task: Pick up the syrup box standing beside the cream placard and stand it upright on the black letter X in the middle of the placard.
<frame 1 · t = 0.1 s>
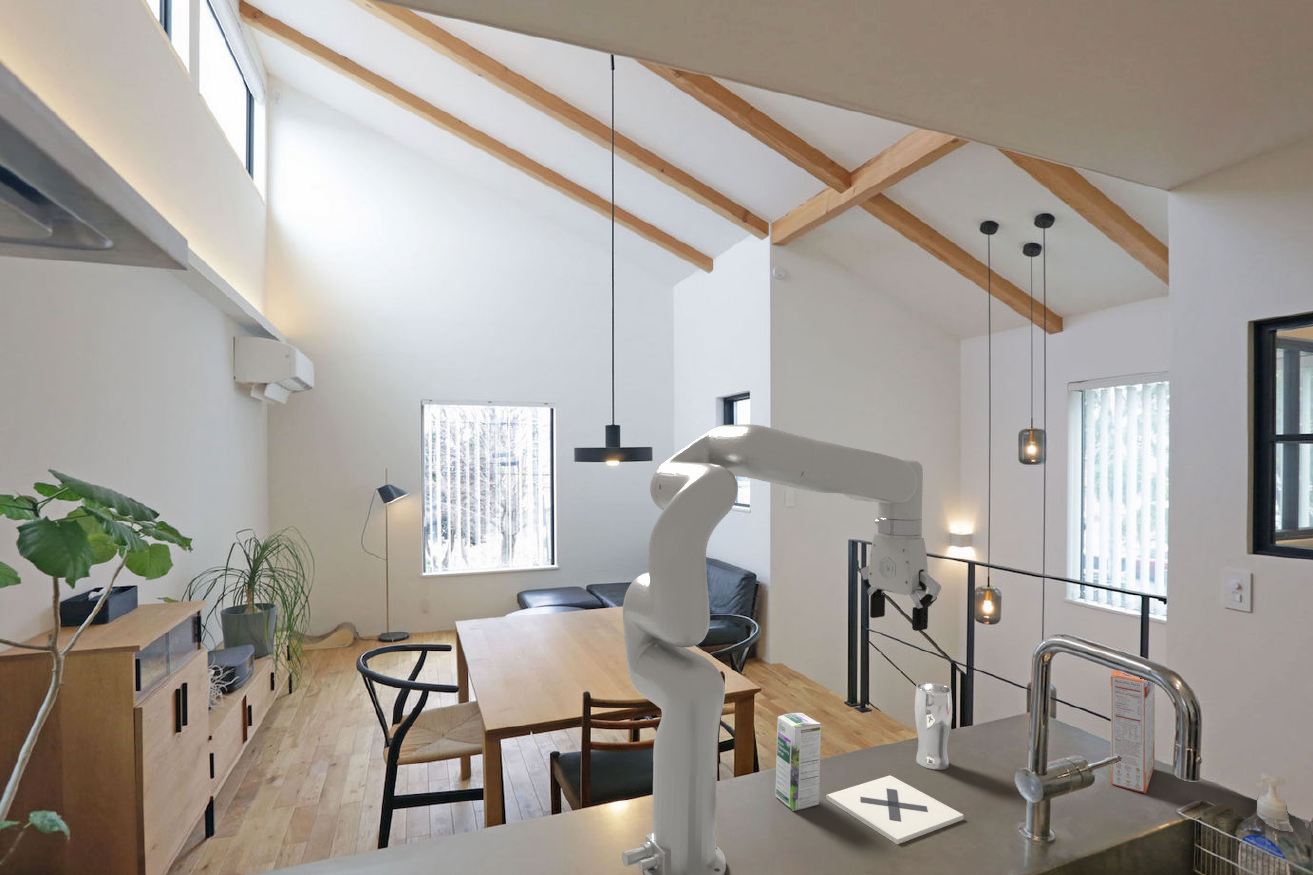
hand: (897, 623, 128), 31 cm above the kitchen counter, tool pointing down, fingers open, 9 cm apart
cracker box: (1132, 777, 138), on the kitchen counter
letter placard: (893, 808, 124), on the kitchen counter
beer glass: (932, 763, 142), on the kitchen counter
syrup box: (797, 801, 126), on the kitchen counter
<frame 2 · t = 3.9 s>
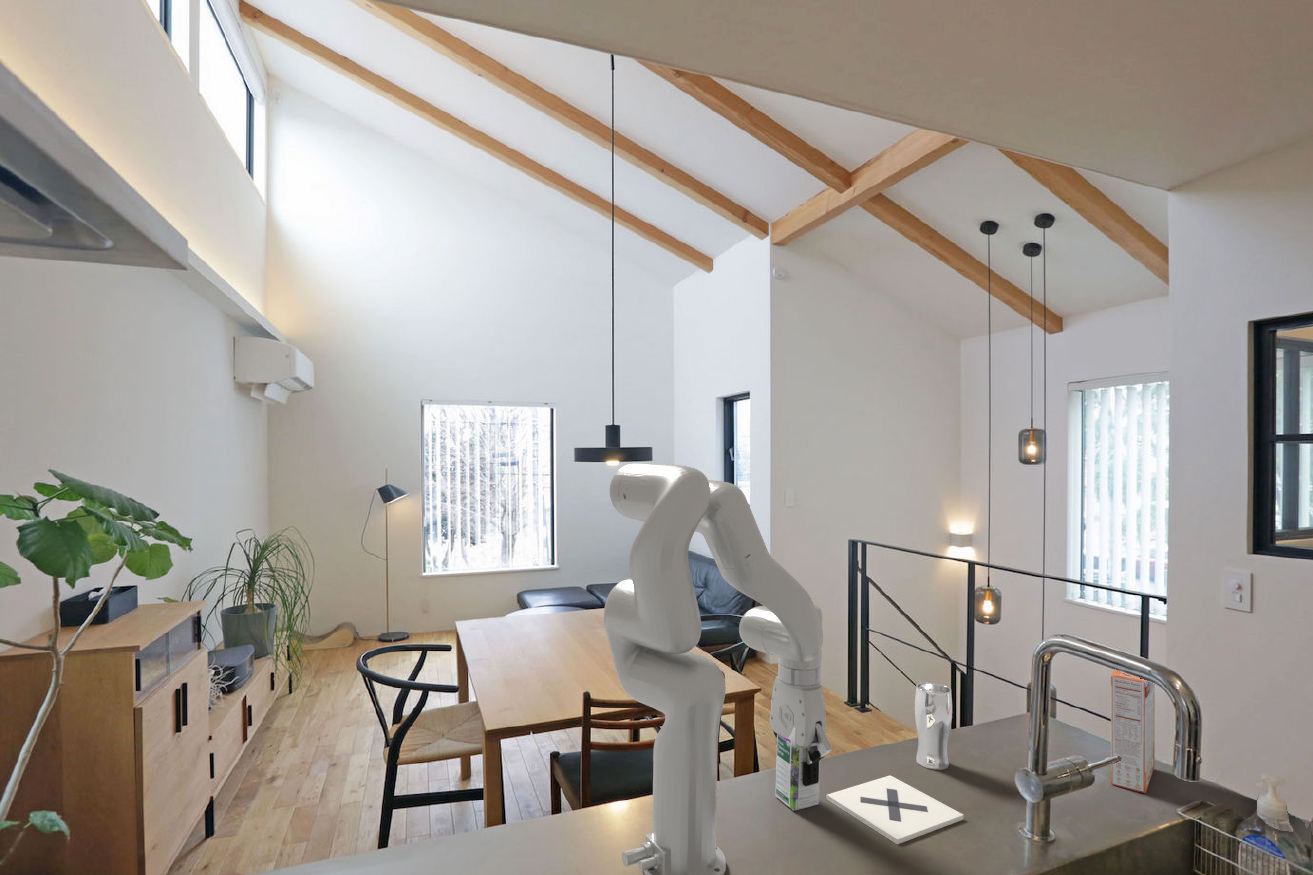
hand: (797, 774, 126), 5 cm above the kitchen counter, tool pointing down, fingers closed on syrup box, 5 cm apart
syrup box: (797, 801, 126), on the kitchen counter, touching gripper
everything else where it was.
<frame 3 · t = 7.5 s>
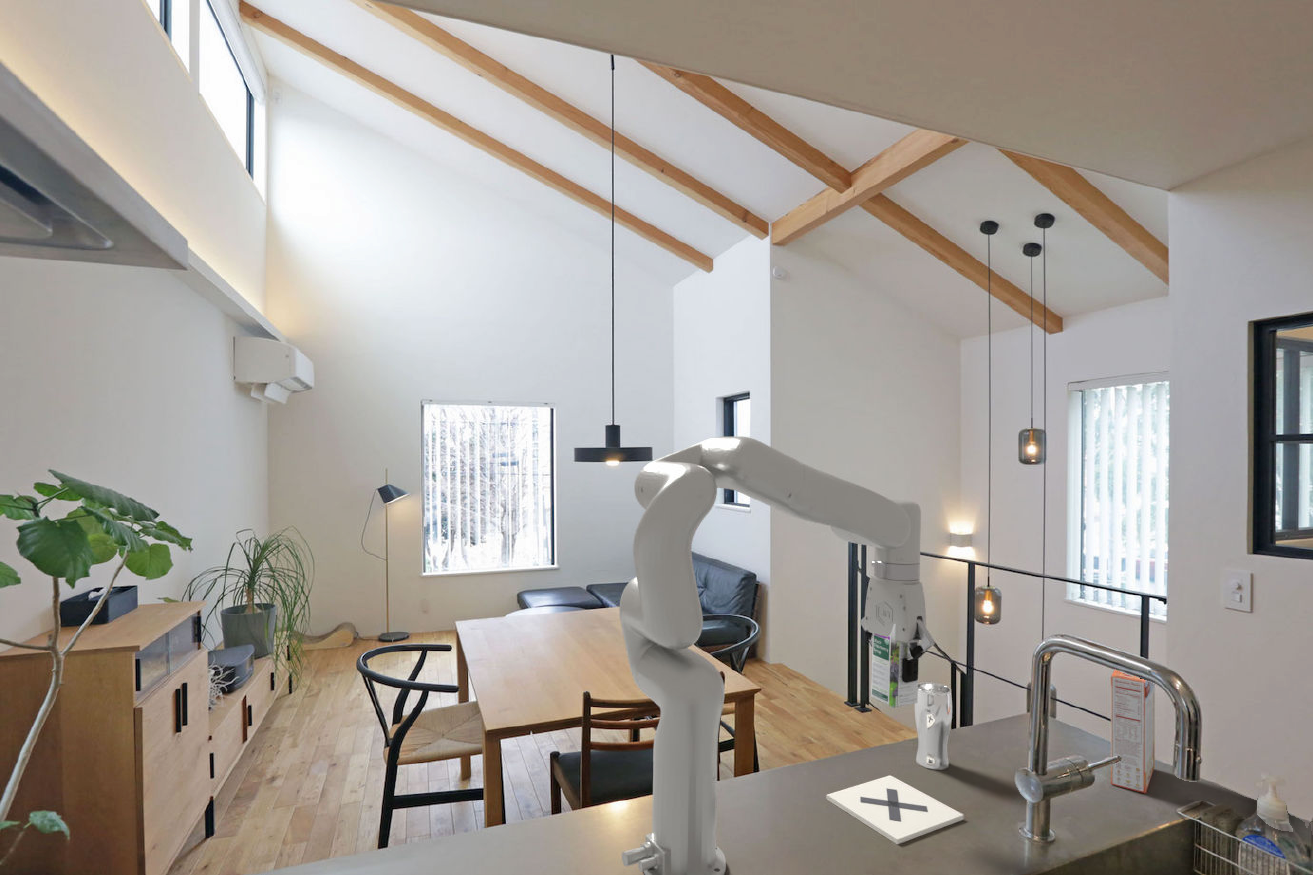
hand: (894, 674, 124), 23 cm above the kitchen counter, tool pointing down, fingers closed on syrup box, 5 cm apart
syrup box: (894, 701, 124), point 19 cm above the kitchen counter, touching gripper
everything else where it was.
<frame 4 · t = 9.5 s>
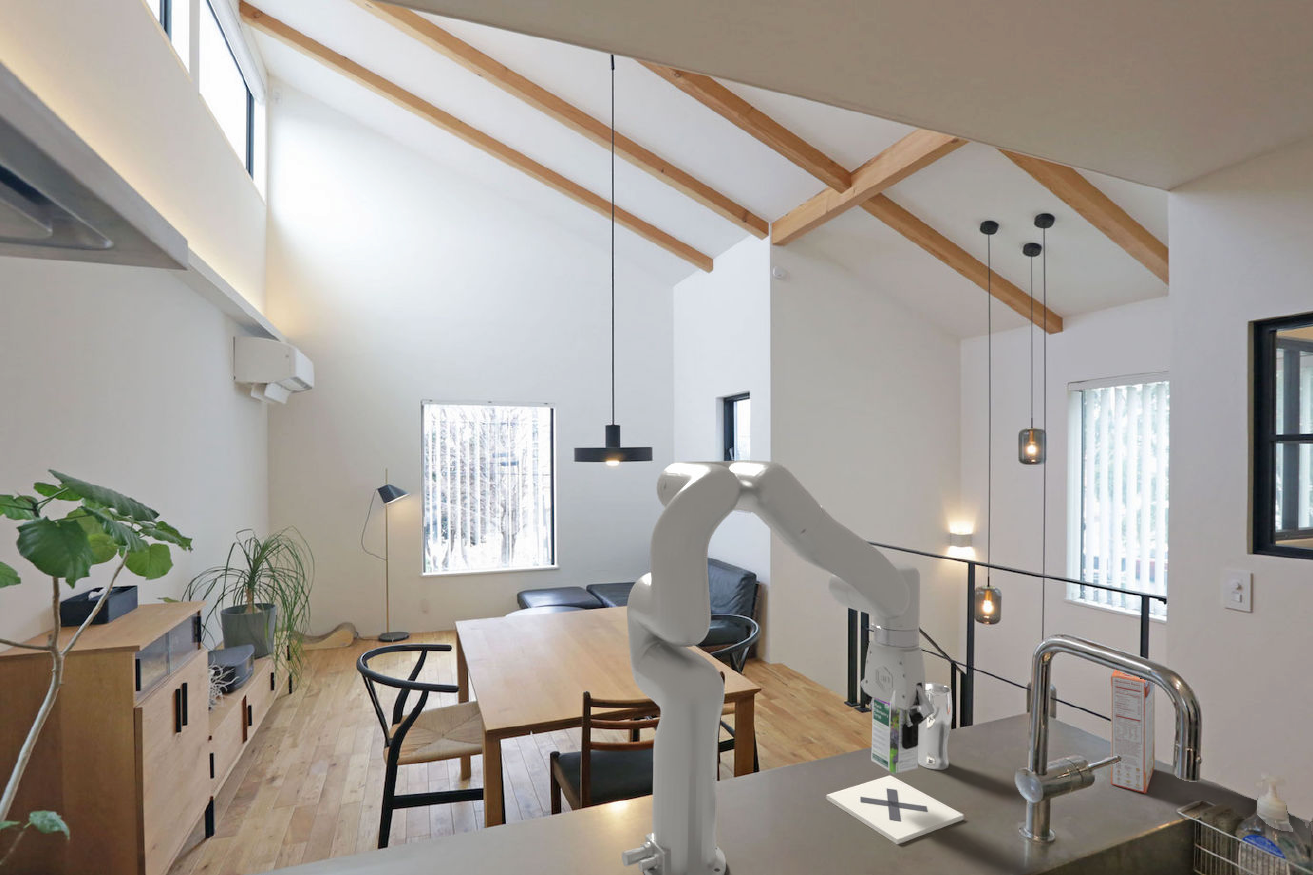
hand: (894, 738, 124), 12 cm above the kitchen counter, tool pointing down, fingers closed on syrup box, 5 cm apart
syrup box: (894, 765, 124), point 7 cm above the kitchen counter, touching gripper
everything else where it was.
when the fingers open (6 cm above the kitchen counter, at t = 11.1 s): syrup box stays where it is, resting on letter placard.
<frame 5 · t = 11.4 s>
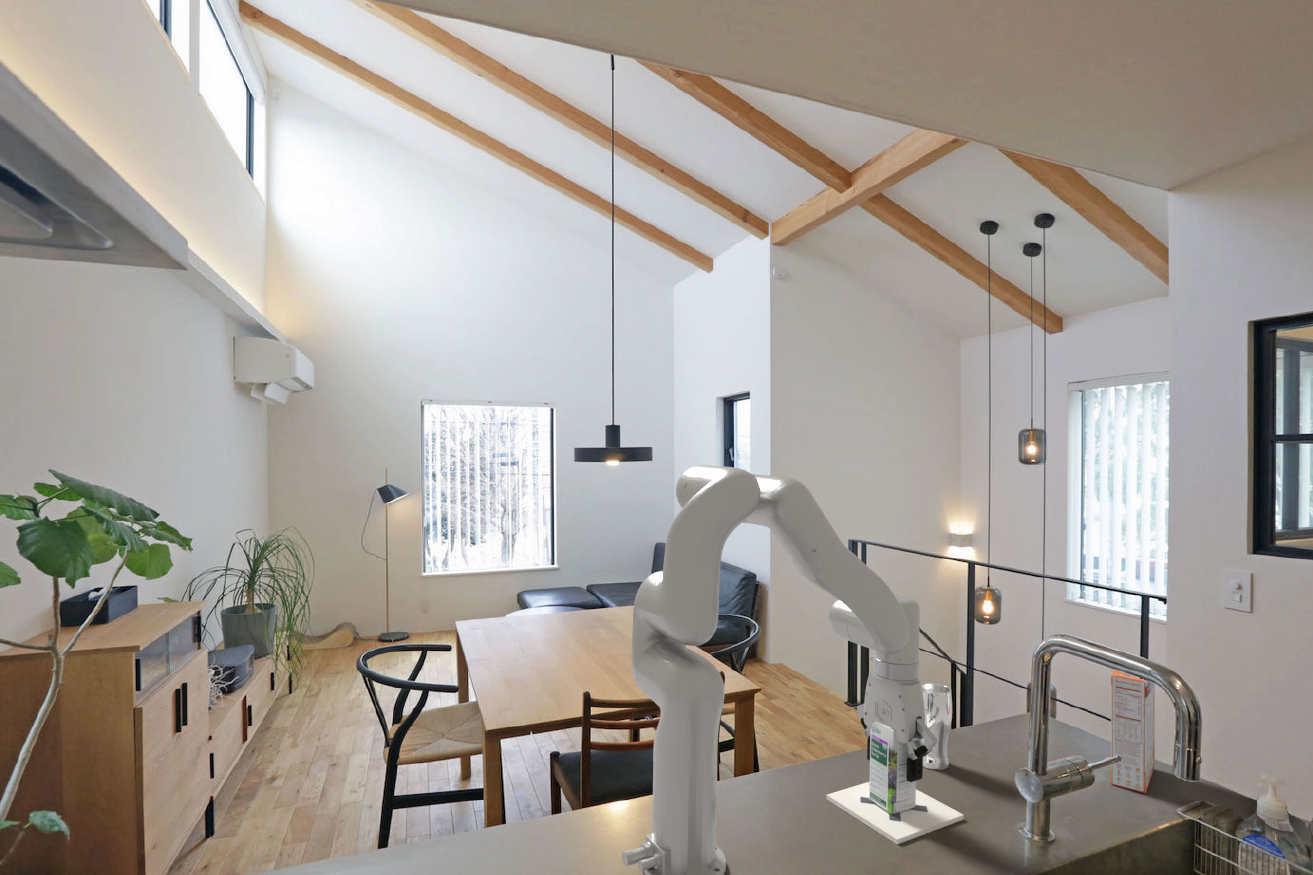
hand: (894, 768, 124), 7 cm above the kitchen counter, tool pointing down, fingers open, 8 cm apart
syrup box: (892, 804, 124), point 1 cm above the kitchen counter, touching letter placard
everything else where it was.
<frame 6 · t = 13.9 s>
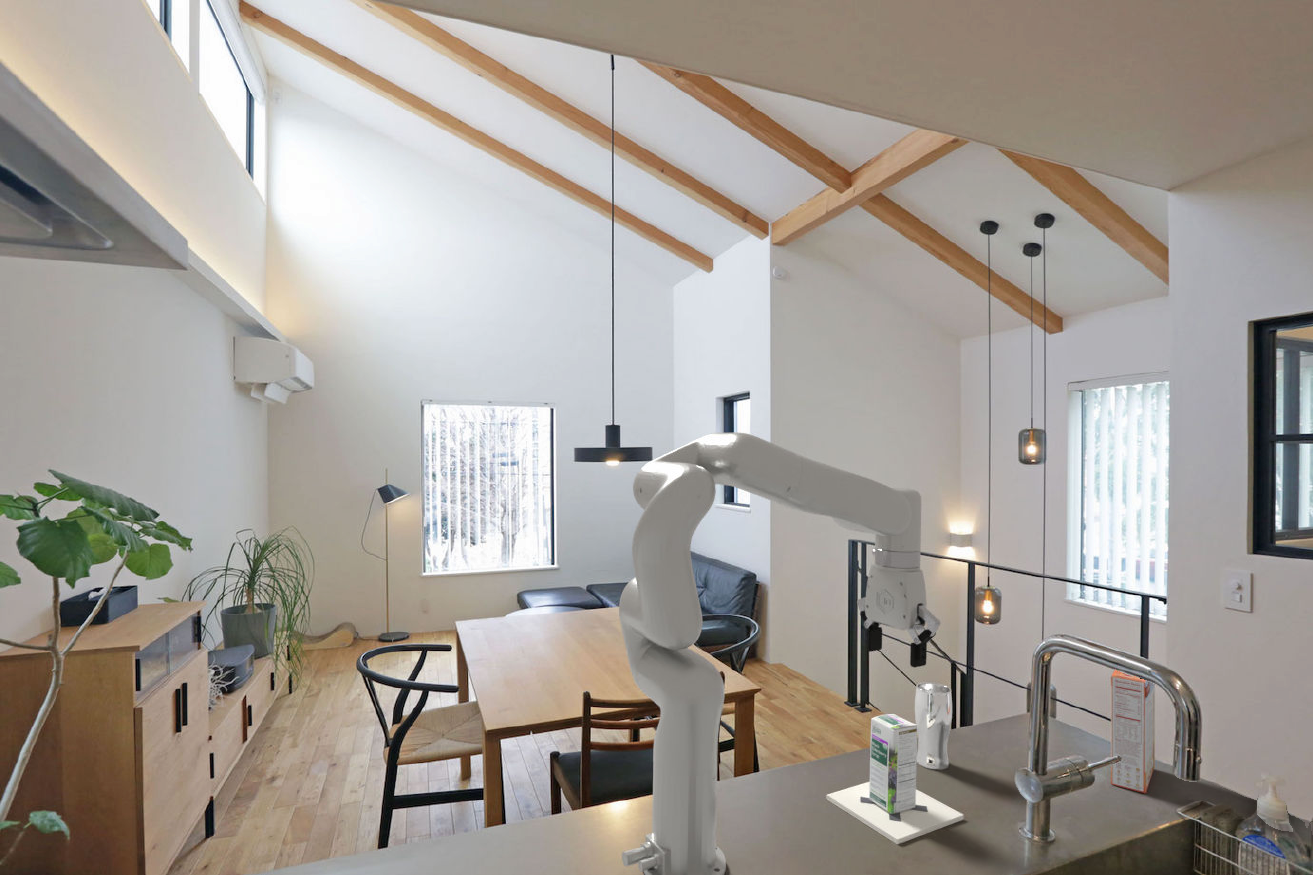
hand: (895, 657, 124), 26 cm above the kitchen counter, tool pointing down, fingers open, 9 cm apart
nothing on the kitchen counter moved.
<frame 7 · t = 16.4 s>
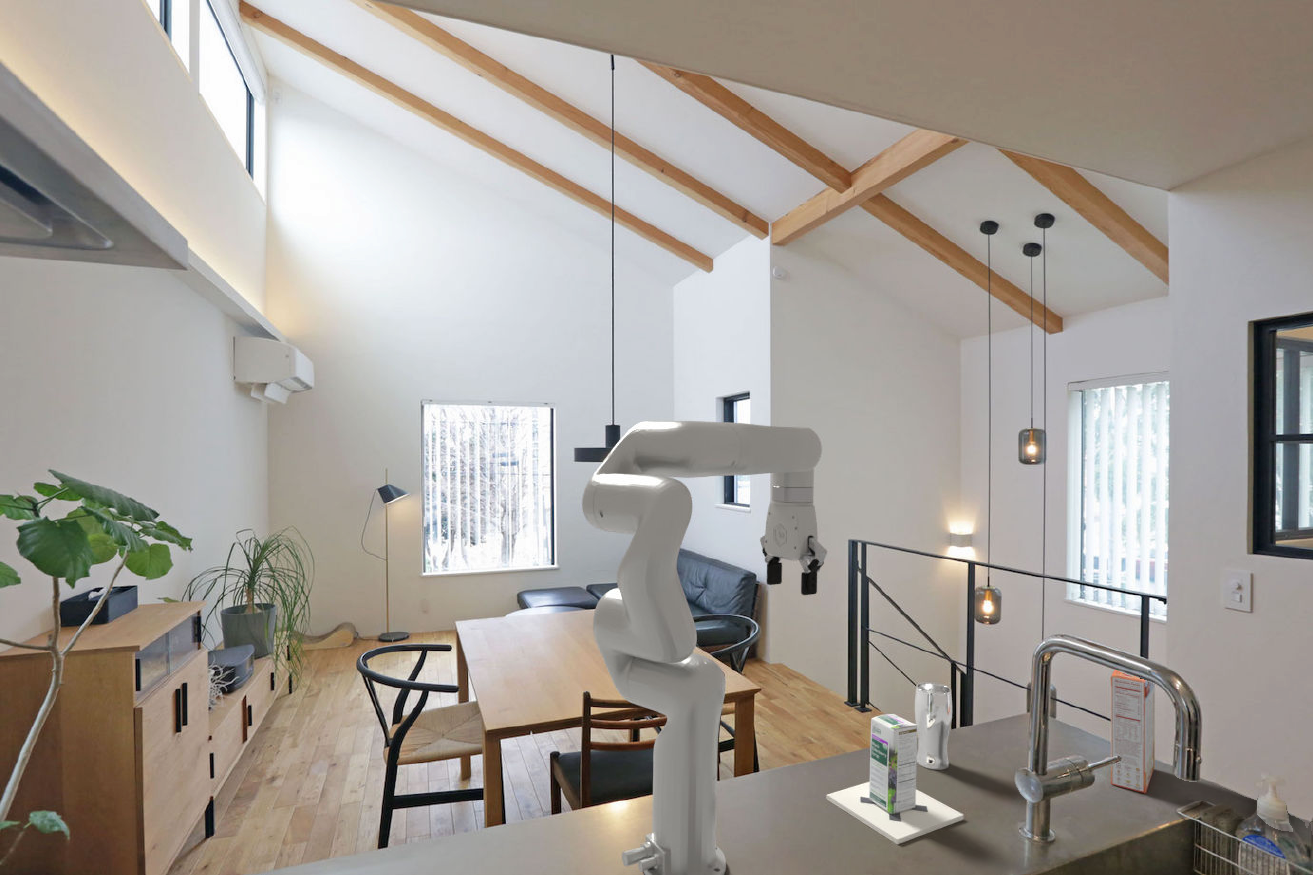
hand: (791, 589, 132), 36 cm above the kitchen counter, tool pointing down, fingers open, 9 cm apart
nothing on the kitchen counter moved.
at the end: syrup box inside the target area on the letter placard (0.2 cm from its centre), point 0.7 cm above the letter placard's base; syrup box tilted 0°; the gripper is holding nothing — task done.
